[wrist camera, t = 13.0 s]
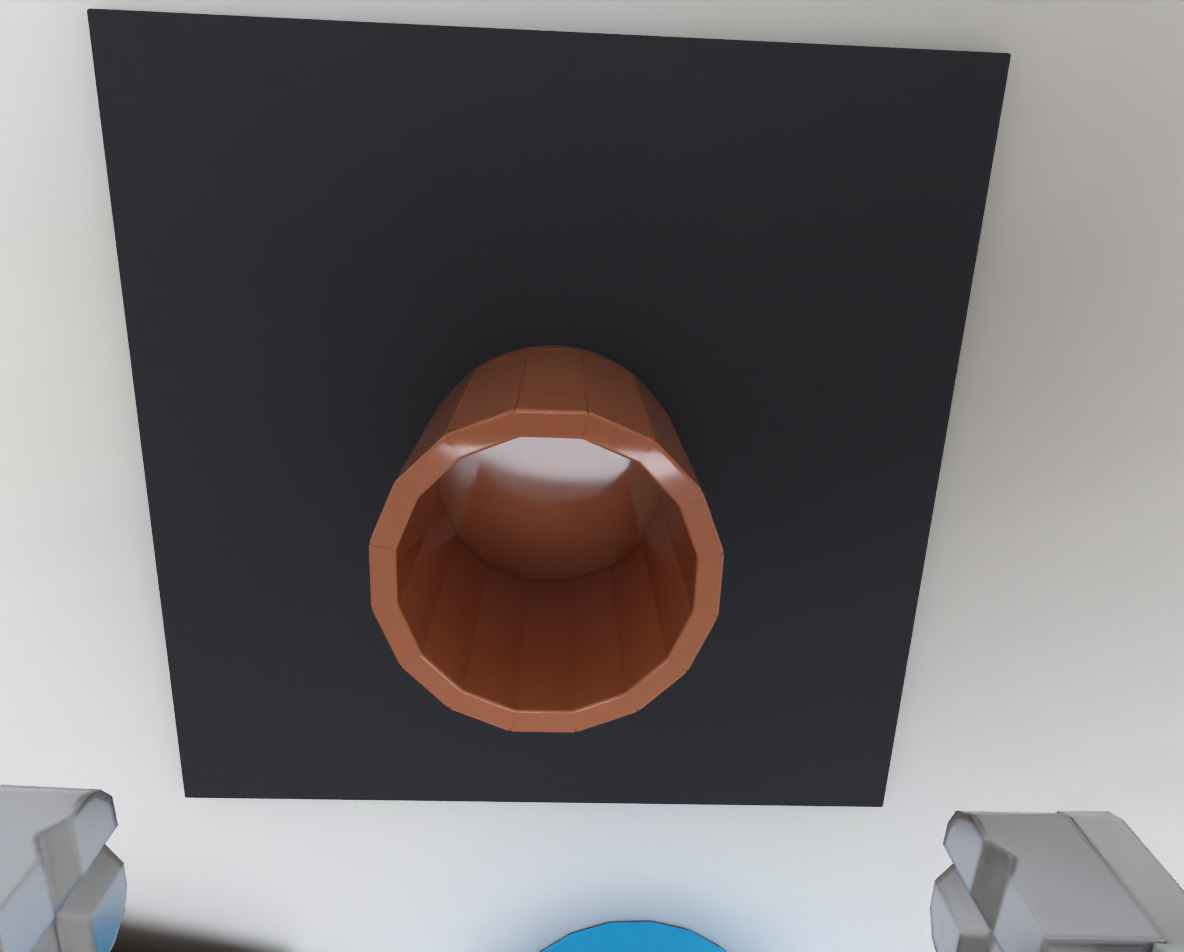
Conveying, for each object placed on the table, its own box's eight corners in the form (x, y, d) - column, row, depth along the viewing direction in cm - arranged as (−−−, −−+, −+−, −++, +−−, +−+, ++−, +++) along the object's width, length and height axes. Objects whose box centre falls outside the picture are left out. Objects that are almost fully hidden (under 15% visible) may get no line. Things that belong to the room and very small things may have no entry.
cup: (420, 340, 21) (362, 404, 15) (688, 349, 21) (737, 416, 15) (426, 584, 23) (376, 730, 17) (670, 589, 23) (707, 736, 17)
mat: (97, 12, 19) (85, 8, 19) (1001, 55, 20) (1012, 53, 19) (191, 786, 25) (184, 798, 25) (877, 796, 26) (883, 807, 26)
